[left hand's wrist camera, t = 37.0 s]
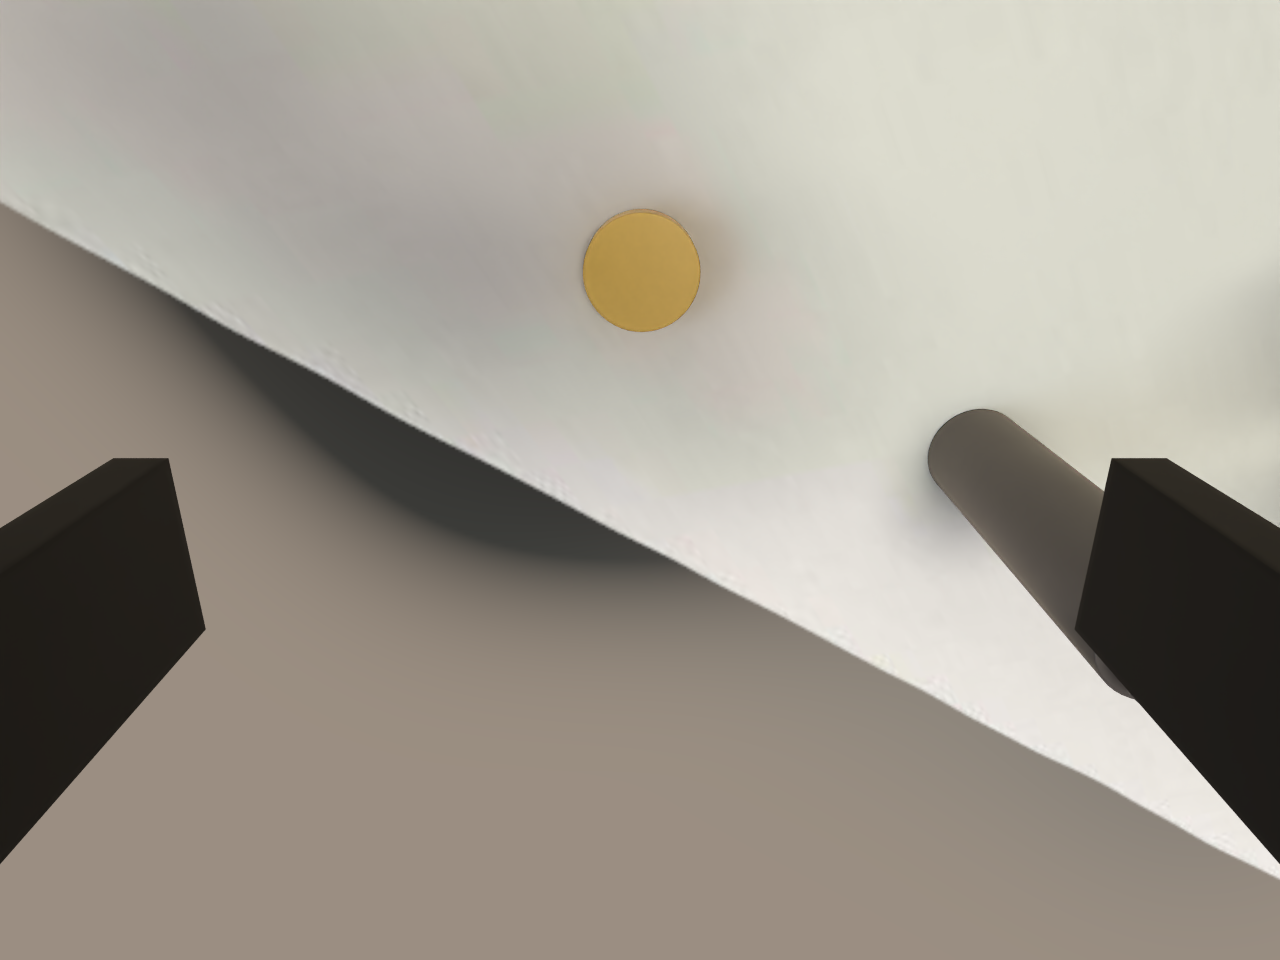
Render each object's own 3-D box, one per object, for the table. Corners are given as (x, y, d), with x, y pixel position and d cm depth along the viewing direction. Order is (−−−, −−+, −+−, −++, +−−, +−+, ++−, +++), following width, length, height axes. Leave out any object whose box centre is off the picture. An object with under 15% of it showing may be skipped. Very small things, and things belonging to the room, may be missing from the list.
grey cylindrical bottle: (1036, 419, 43) (1312, 618, 25) (1002, 504, 44) (1238, 746, 27) (945, 400, 42) (1161, 589, 25) (915, 487, 44) (1096, 721, 26)
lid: (639, 183, 38) (639, 186, 37) (721, 265, 40) (724, 271, 38) (562, 270, 40) (558, 276, 38) (643, 345, 41) (643, 355, 39)
